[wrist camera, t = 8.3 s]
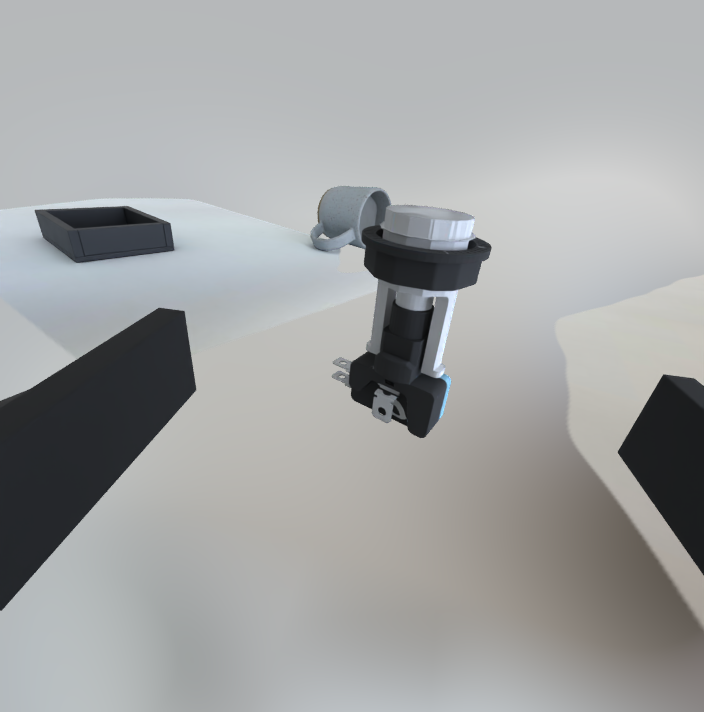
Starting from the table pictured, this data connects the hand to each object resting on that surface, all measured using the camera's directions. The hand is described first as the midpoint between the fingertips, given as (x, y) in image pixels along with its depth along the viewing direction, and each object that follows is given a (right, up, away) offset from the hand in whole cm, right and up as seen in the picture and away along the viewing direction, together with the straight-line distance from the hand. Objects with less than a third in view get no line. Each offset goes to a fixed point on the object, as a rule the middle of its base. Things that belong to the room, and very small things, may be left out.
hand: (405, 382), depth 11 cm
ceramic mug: (-2, +16, +41) cm, 44 cm away
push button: (0, -2, +10) cm, 10 cm away
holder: (-29, +14, +32) cm, 45 cm away
